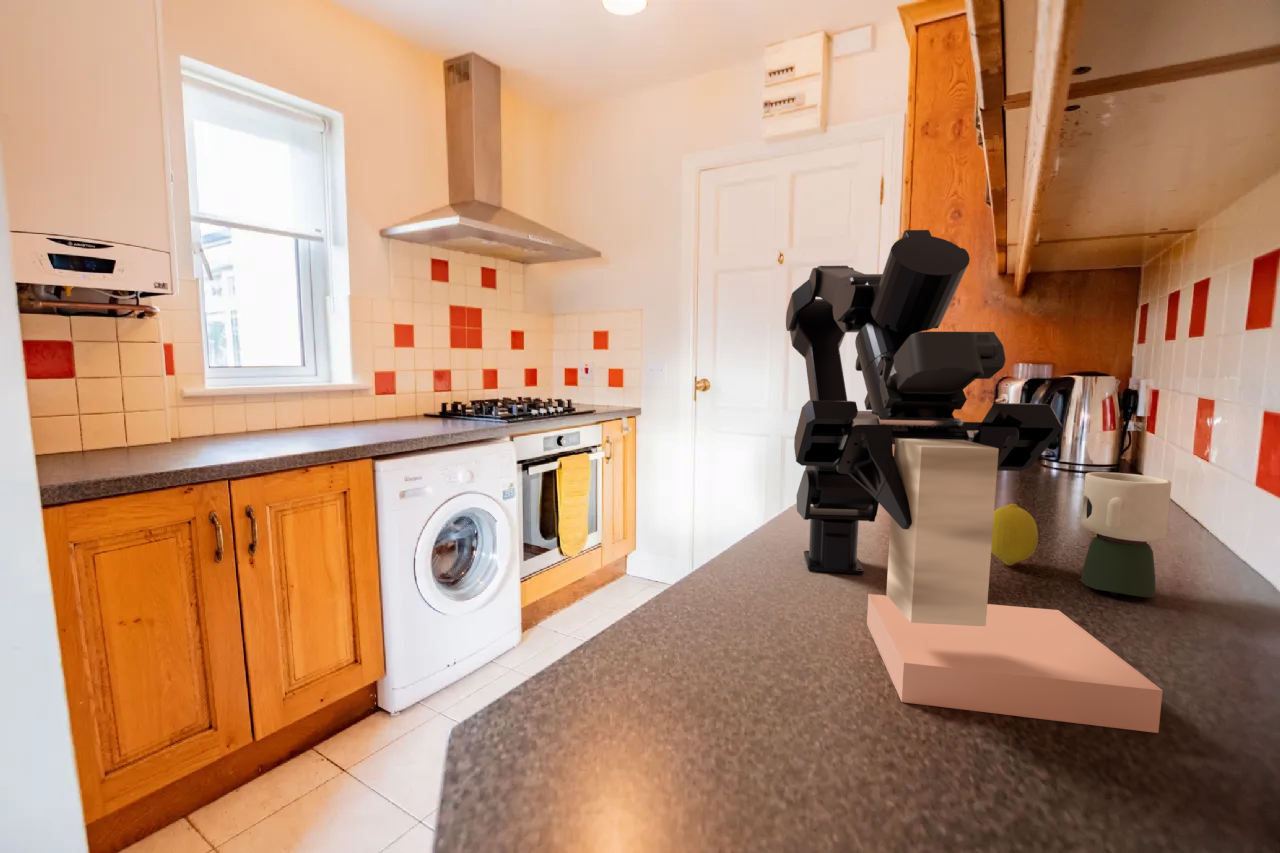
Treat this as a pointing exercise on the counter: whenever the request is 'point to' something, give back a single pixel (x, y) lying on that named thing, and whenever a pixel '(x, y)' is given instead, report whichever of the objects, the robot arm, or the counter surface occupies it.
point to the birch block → (943, 531)
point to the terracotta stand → (1013, 667)
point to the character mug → (1123, 530)
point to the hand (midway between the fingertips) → (946, 527)
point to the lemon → (1013, 534)
